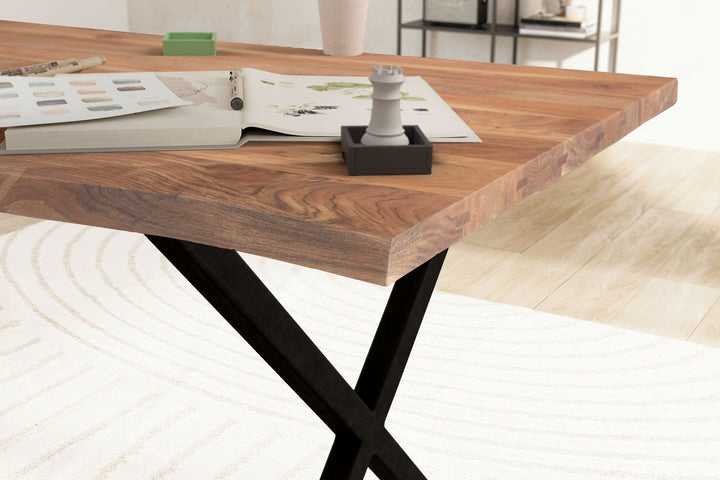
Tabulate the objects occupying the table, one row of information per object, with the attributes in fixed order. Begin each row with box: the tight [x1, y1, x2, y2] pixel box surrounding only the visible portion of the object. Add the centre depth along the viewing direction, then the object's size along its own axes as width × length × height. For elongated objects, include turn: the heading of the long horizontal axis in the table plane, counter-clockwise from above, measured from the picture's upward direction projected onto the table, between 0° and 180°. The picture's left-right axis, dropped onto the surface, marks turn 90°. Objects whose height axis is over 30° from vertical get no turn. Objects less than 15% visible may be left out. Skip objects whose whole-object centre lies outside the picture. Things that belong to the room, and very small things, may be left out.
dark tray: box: [340, 124, 434, 176], centre depth 79 cm, size 7×7×2 cm
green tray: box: [161, 31, 218, 57], centre depth 127 cm, size 7×7×2 cm
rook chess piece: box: [360, 64, 410, 146], centre depth 78 cm, size 4×4×8 cm
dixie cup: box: [317, 0, 370, 57], centre depth 128 cm, size 8×8×10 cm
